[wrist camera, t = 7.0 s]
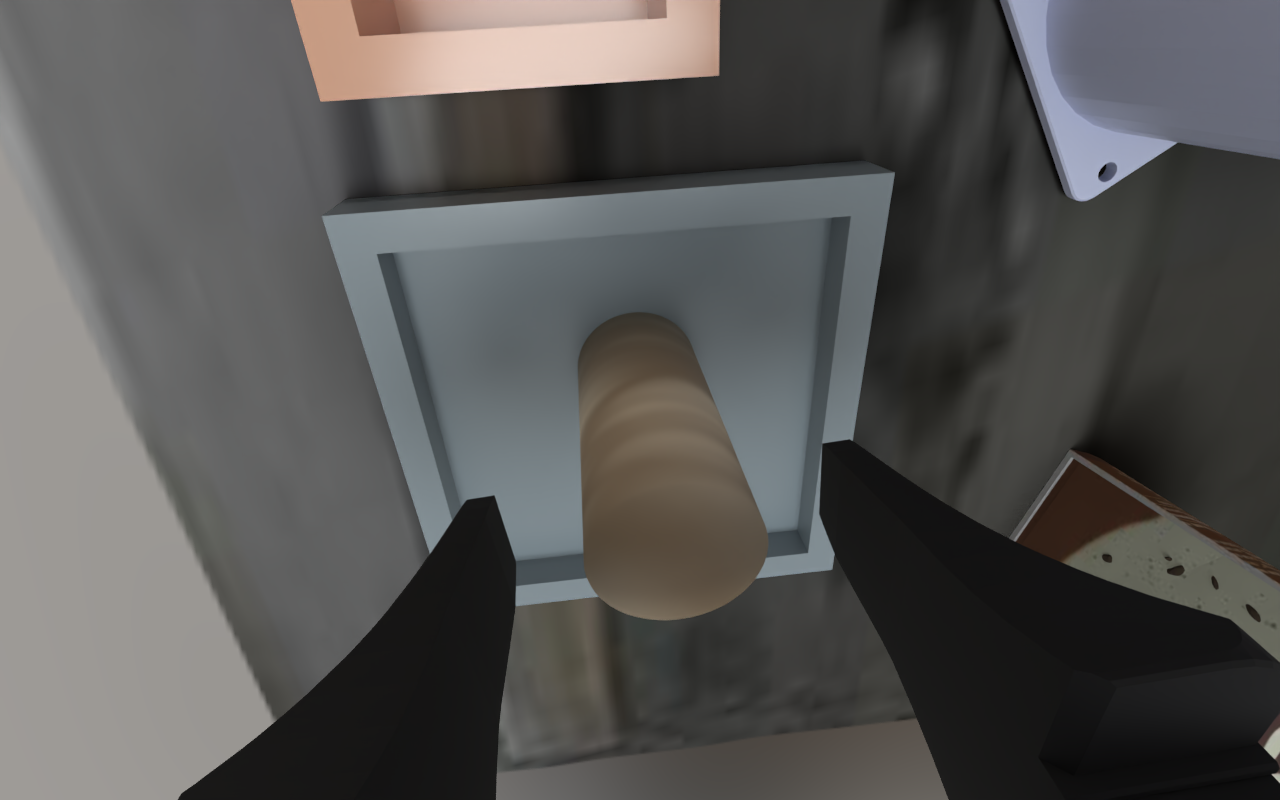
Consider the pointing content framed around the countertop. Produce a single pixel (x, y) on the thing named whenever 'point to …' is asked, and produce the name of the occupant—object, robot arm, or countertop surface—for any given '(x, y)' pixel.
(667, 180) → the slate tray
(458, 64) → the terracotta square open box
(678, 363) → the beech dowel
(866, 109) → the countertop surface
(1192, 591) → the food container
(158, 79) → the countertop surface
